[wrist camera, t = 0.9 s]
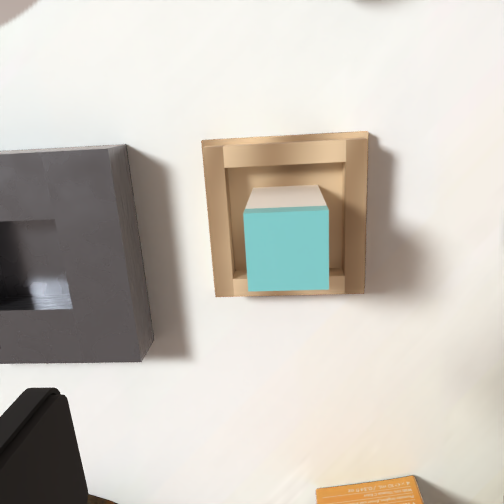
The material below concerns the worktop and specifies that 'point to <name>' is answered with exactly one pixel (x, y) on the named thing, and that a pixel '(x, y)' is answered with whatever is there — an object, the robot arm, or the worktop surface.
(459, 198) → the worktop surface
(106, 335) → the port panel
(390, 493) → the small box
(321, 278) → the plug
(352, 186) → the wooden square tray
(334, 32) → the worktop surface
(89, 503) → the hand tool
